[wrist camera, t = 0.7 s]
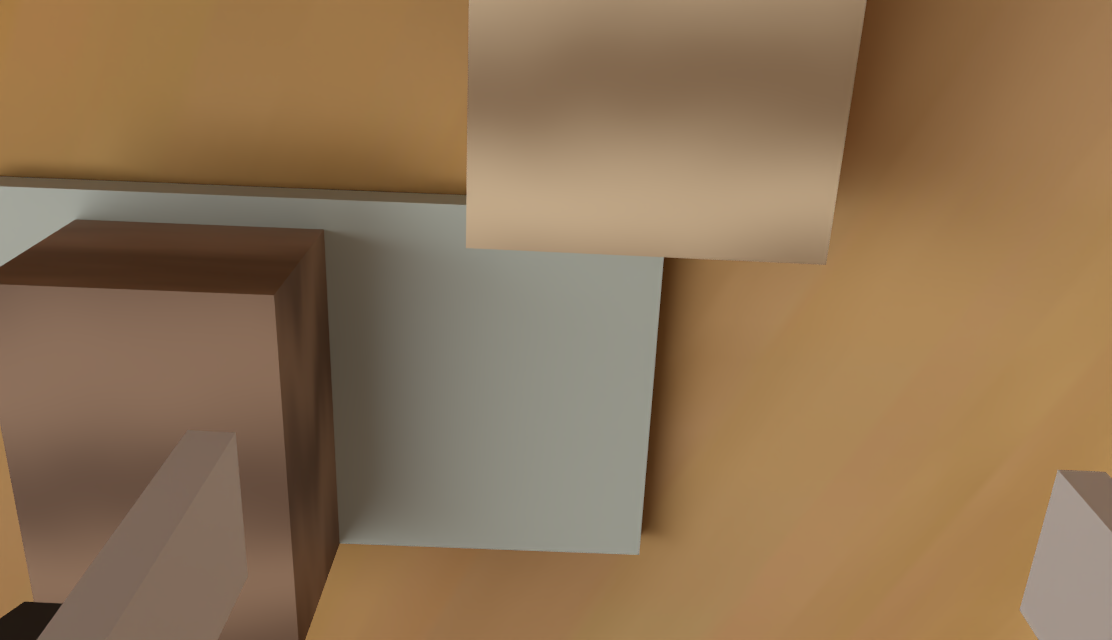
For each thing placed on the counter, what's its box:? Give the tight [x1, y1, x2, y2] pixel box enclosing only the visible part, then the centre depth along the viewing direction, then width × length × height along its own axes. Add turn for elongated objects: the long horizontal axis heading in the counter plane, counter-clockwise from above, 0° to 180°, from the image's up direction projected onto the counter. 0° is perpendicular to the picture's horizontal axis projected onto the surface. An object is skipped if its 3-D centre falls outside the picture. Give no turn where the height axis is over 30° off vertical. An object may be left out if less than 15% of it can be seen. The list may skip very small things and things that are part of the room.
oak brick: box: [466, 0, 867, 265], centre depth 29 cm, size 10×10×6 cm
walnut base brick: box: [0, 219, 340, 640], centre depth 32 cm, size 12×8×6 cm, turn 178°
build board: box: [0, 176, 664, 555], centre depth 35 cm, size 13×22×1 cm, turn 88°
